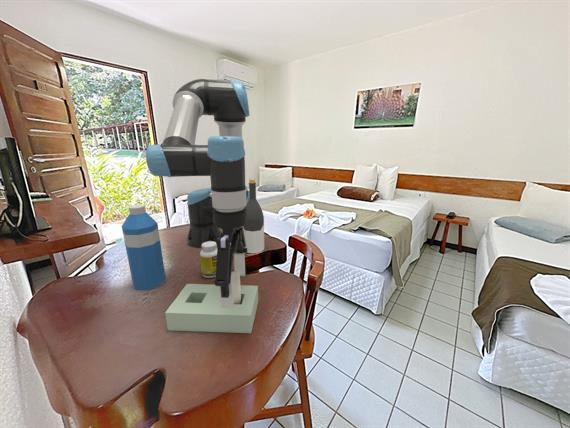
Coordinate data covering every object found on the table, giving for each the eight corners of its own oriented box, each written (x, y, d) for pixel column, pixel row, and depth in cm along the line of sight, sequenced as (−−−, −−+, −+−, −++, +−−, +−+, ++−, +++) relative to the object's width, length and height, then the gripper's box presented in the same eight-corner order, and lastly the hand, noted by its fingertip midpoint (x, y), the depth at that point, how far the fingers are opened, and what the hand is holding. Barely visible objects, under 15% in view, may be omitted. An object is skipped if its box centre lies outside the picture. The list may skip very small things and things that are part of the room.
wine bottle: (245, 248, 102) (242, 177, 94) (264, 248, 103) (263, 177, 94) (243, 257, 95) (239, 180, 86) (263, 257, 95) (262, 180, 86)
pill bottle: (215, 279, 79) (213, 248, 76) (198, 277, 80) (195, 246, 77) (224, 270, 85) (221, 241, 82) (207, 268, 86) (205, 239, 83)
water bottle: (172, 278, 80) (162, 204, 73) (146, 293, 72) (131, 212, 64) (152, 272, 84) (141, 201, 76) (125, 285, 75) (110, 208, 68)
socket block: (188, 299, 69) (186, 283, 68) (258, 301, 69) (258, 285, 67) (167, 330, 58) (165, 312, 57) (251, 333, 57) (250, 315, 56)
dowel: (231, 311, 65) (229, 271, 61) (242, 311, 65) (240, 271, 61) (228, 319, 62) (225, 277, 58) (240, 319, 62) (238, 277, 58)
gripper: (227, 195, 67) (231, 264, 73) (190, 225, 43) (201, 324, 49) (254, 196, 67) (256, 265, 73) (232, 226, 43) (238, 325, 49)
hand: (234, 289), depth 61 cm, fingers open, 13 cm apart
